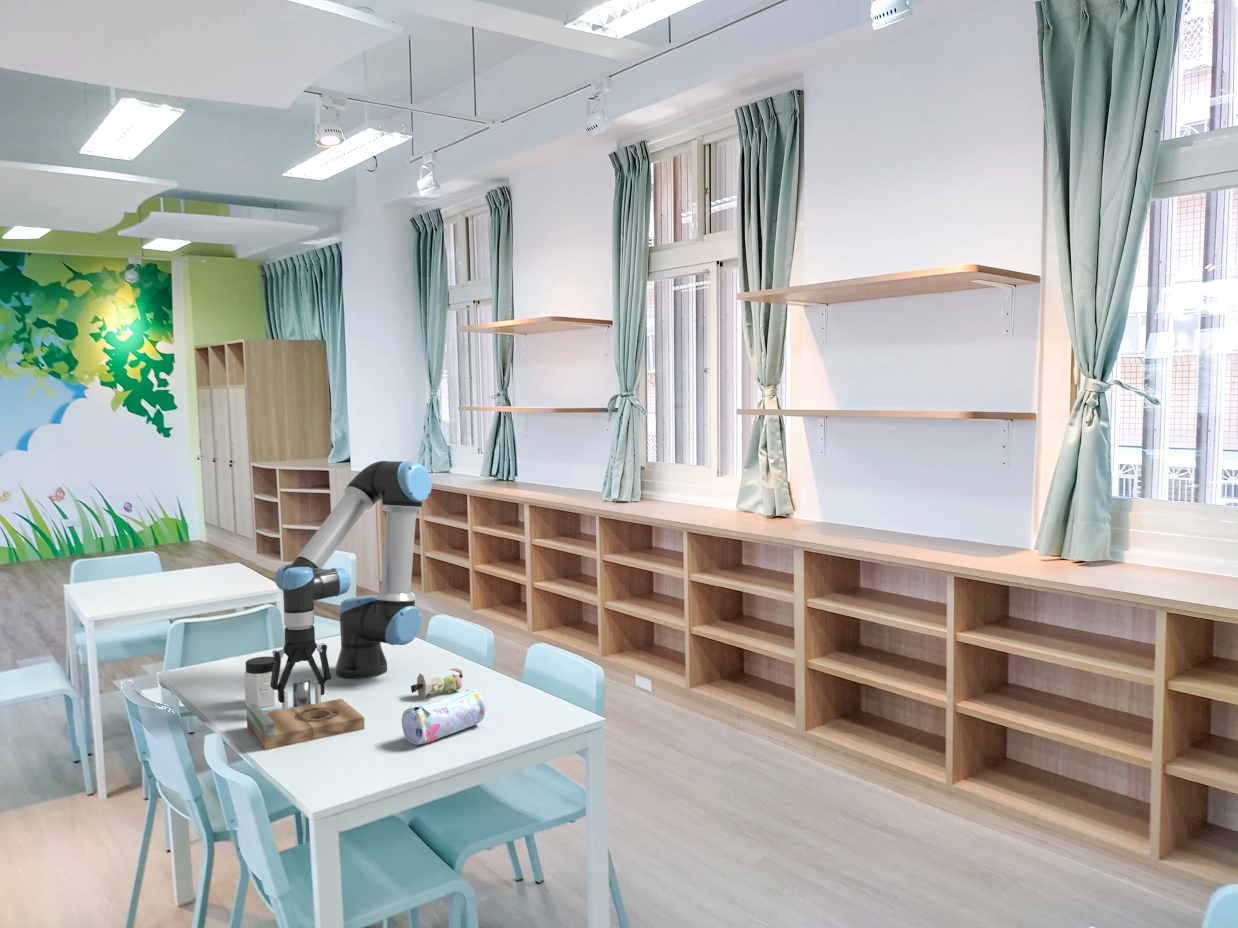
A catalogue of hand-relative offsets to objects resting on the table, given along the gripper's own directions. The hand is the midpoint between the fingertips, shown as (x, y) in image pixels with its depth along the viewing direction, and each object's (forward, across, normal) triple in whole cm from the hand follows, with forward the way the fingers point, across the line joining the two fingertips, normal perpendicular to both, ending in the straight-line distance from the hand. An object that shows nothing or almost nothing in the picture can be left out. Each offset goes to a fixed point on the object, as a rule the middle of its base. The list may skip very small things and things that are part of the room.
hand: (302, 710), depth 243 cm
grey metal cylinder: (0, 0, 0) cm, 0 cm away
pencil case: (+1, -24, +38) cm, 45 cm away
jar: (0, +7, -13) cm, 15 cm away
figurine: (+1, -35, +9) cm, 36 cm away
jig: (0, +3, +14) cm, 14 cm away
